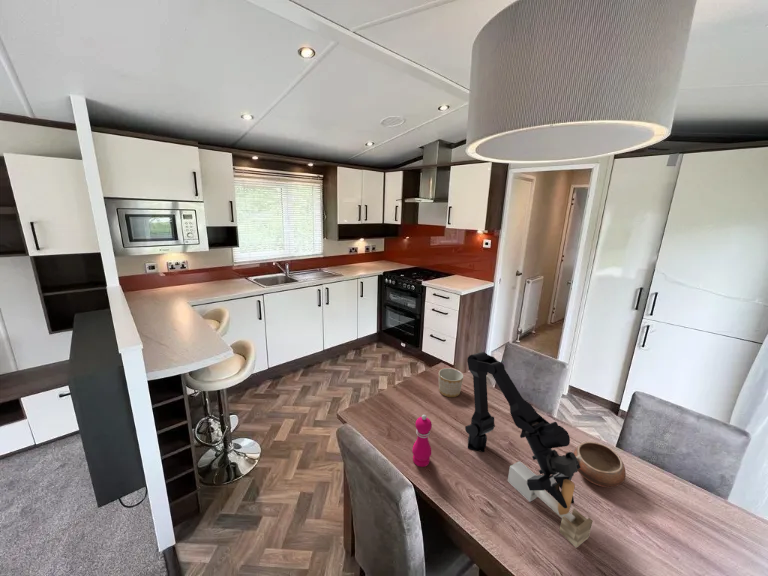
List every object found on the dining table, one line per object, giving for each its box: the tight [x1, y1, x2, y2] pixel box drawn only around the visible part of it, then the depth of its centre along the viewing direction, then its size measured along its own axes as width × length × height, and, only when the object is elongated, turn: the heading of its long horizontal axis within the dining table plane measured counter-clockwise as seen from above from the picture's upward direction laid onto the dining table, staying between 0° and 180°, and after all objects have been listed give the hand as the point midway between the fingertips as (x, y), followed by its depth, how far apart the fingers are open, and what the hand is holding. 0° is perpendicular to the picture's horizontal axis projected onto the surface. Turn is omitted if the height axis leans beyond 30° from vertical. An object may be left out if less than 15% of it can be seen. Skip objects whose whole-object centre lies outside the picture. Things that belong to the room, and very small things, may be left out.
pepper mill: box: [411, 414, 432, 468], centre depth 114 cm, size 7×7×20 cm
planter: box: [438, 367, 464, 398], centre depth 160 cm, size 13×13×10 cm
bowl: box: [573, 441, 627, 488], centre depth 111 cm, size 16×16×10 cm
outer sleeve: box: [507, 461, 539, 503], centre depth 105 cm, size 9×5×6 cm, turn 28°
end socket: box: [559, 508, 594, 549], centre depth 90 cm, size 5×6×6 cm
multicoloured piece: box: [533, 479, 576, 523], centre depth 97 cm, size 16×3×12 cm, turn 28°
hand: (569, 505), depth 91 cm, fingers closed on multicoloured piece, 3 cm apart
